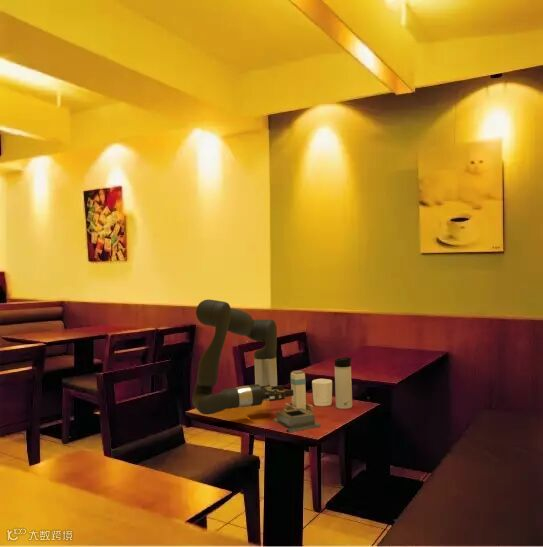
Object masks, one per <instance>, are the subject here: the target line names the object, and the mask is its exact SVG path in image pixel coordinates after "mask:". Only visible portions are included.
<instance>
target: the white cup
mask: <svg viewBox="0 0 543 547" xmlns="http://www.w3.org/2000/svg"><path fill="white" fill-rule="evenodd" d="M311 387H312V388H311V389H312V398H313V404H314V405H315V406H317V407H327V406H331V405H332V402H333V401H332V400H333V396H332V395H333V380H332V379H330V378H329V379H327V378H317V379H313V380H312V381H311ZM314 405H313V406H314Z"/></svg>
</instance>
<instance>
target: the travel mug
mask: <svg viewBox="0 0 543 547" xmlns="http://www.w3.org/2000/svg"><path fill="white" fill-rule="evenodd" d="M352 383H353V382H352V357H351V356H349V357H347V356H346V357H339V358H337V359H334V386H335V387H334V388H335V389H334V390H335V394H334V395H335V408H337V409H339V410H340V409H341V410H346V409H348V410H349V409H352V408H353V390H352V389H353V388H352V386H353V385H352Z"/></svg>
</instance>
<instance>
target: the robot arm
mask: <svg viewBox="0 0 543 547" xmlns="http://www.w3.org/2000/svg"><path fill="white" fill-rule="evenodd" d="M195 315H196V319H197V321H198V322H199V323H200V324H202V325H204V326H208V327H213V328H215V331H214V335H213V338H212V340H211V342H210V344H209V345H208V346H207V348H206V349H205V350H204V352H203V353H202V355H201V357H200V359H199V361H198V362H199V363H198V370H197V375H196V376H197V379H196V383H195V385H194V390H193V391H192V398H191V400H192V405H193V407H194V408H195V409H196V410H197V411H198V412H199V413H200V414H202V415H208V416H209V415H214V414H217V413H219V412H223V411H225V410H230V409H238V408H249V407H255V406H261V405H262V404H263V402H264V401H269V402H275V401H282V400H283V401H284V400H286V398H288V397H291V396H293V390H291V389H287V390H286V389H285V390H284V387H285V386H284V385H283V384H281V385H278V374H277V373H278V371H277V348H278V346H277V345H278V343H277V342H278V340H277V338H278V333H277V332H278V329H277V323H276V321H275V320H274V319H265V318H264V319H258V318H257V319H254V318H253V317H252V315H251V314H249V313H248V312H245V311H243V310H240V309H237V308H233V307H232V308H231V306H230V304H229V302H227V301H221V300H216V299H215V300H214V299H204V300H201V301H200V302H199V303H198V305H197V307H196V309H195ZM228 332H229V333H232V334H235V335H238V336H244V337H246V338H248V339H250V340H252V341H253V342H265V345H264V346H263V347H262V348H259V349H256V350H255V351H254V352H253V360H254V361H253V362H254V384H250V385H249V384H248V385H242V386H237V387H232V388H226V389H222V390H220V391H219V393H218V392H217V393H213V388H214V386H216V385H217V382H218V376H219V368H220V367H219V366H220V360H221V355H222V352H223V348H224V346H225V342H226V337H227V334H228Z"/></svg>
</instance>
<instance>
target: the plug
mask: <svg viewBox="0 0 543 547" xmlns="http://www.w3.org/2000/svg"><path fill="white" fill-rule="evenodd" d="M290 390H293V396H290V397H291V403H292V406H294V407H296V408H302V409H304V410H306V403H307V399H306V398H307V397H306V394H307V393H306V392H307V391H306V373H305V372H304V371H302V370H300V369H299V370H292V371H291V372H290Z"/></svg>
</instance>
